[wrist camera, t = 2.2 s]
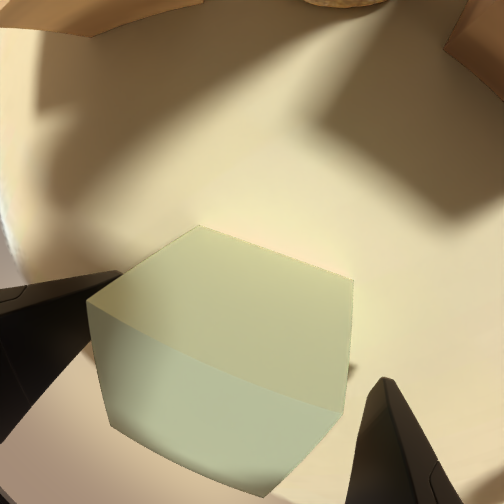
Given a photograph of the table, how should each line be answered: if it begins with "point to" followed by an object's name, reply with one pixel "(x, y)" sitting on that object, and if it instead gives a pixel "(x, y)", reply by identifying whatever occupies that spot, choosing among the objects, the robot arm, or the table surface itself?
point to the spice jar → (343, 3)
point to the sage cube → (224, 357)
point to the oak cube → (81, 14)
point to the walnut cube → (481, 42)
